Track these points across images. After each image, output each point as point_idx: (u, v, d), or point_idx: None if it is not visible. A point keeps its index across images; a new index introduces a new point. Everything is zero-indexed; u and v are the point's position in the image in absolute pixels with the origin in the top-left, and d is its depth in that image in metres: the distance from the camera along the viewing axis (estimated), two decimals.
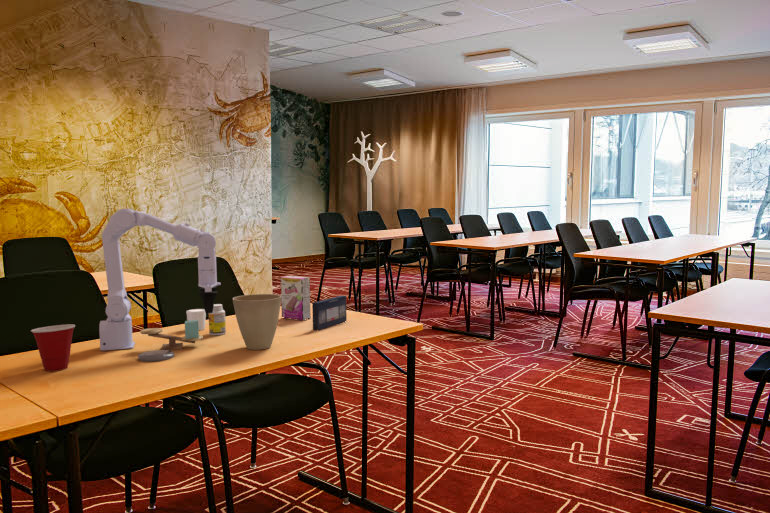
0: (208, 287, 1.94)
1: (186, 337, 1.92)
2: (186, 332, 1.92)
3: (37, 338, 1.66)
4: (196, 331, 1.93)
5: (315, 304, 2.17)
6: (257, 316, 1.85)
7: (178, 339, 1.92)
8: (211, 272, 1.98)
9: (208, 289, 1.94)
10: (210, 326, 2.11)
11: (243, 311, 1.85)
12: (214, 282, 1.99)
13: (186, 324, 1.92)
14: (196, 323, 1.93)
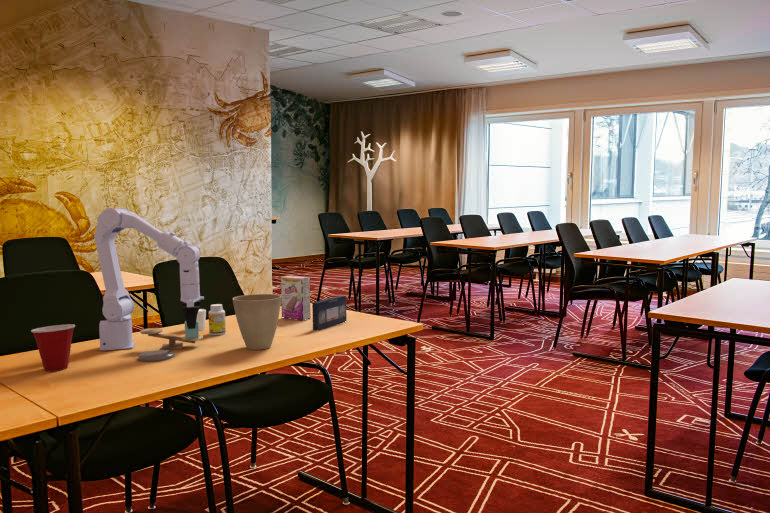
0: (190, 302, 1.87)
1: (186, 337, 1.92)
2: (186, 332, 1.92)
3: (37, 338, 1.66)
4: (196, 331, 1.93)
5: (315, 304, 2.17)
6: (257, 316, 1.85)
7: (178, 339, 1.92)
8: (193, 286, 1.91)
9: (190, 304, 1.87)
10: (210, 326, 2.11)
11: (243, 311, 1.85)
12: (197, 296, 1.92)
13: (186, 324, 1.92)
14: (196, 323, 1.93)
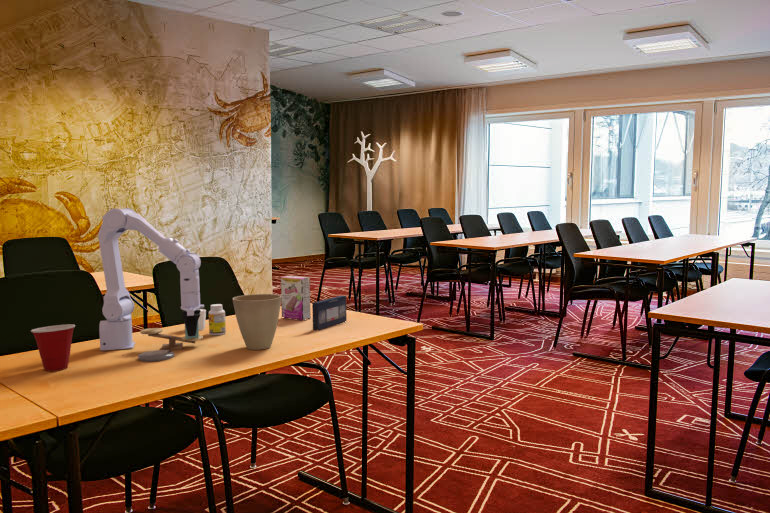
0: (190, 310, 1.87)
1: (186, 337, 1.92)
2: (186, 332, 1.92)
3: (37, 338, 1.66)
4: (196, 331, 1.93)
5: (315, 304, 2.17)
6: (257, 316, 1.85)
7: (178, 339, 1.92)
8: (194, 294, 1.91)
9: (190, 313, 1.87)
10: (210, 326, 2.11)
11: (243, 311, 1.85)
12: (197, 305, 1.92)
13: None
14: None
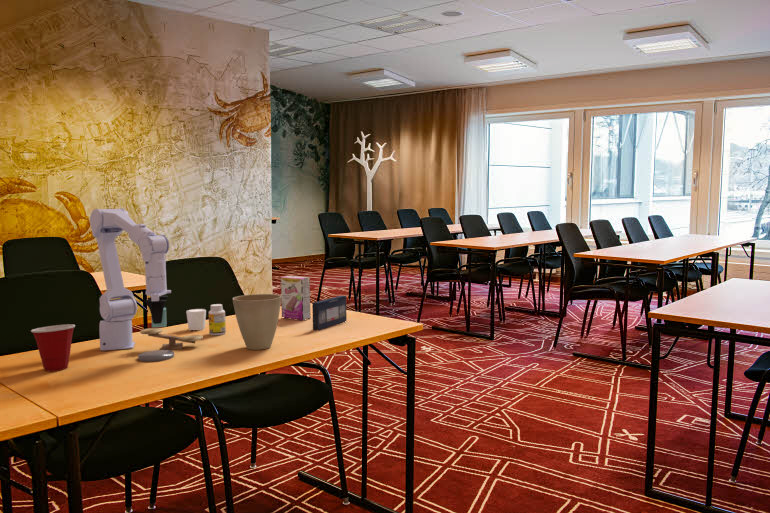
0: (155, 296, 1.74)
1: (153, 326, 1.79)
2: None
3: (37, 338, 1.66)
4: (164, 319, 1.80)
5: (315, 304, 2.17)
6: (257, 316, 1.85)
7: (178, 339, 1.92)
8: (159, 279, 1.78)
9: (155, 298, 1.74)
10: (210, 326, 2.11)
11: (243, 311, 1.85)
12: (163, 290, 1.80)
13: None
14: (164, 311, 1.80)
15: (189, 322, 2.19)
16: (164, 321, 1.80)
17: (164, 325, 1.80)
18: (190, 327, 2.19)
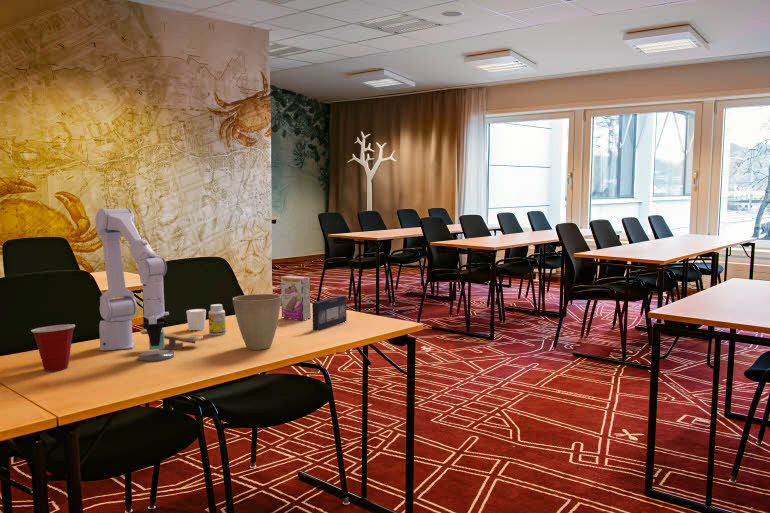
0: (152, 319, 1.73)
1: (150, 348, 1.79)
2: None
3: (37, 338, 1.66)
4: (161, 341, 1.80)
5: (315, 304, 2.17)
6: (257, 316, 1.85)
7: (178, 339, 1.92)
8: (157, 301, 1.78)
9: (152, 321, 1.74)
10: (210, 326, 2.11)
11: (243, 311, 1.85)
12: (161, 312, 1.79)
13: None
14: (161, 333, 1.80)
15: (189, 322, 2.19)
16: (162, 343, 1.80)
17: (162, 347, 1.80)
18: (190, 327, 2.19)
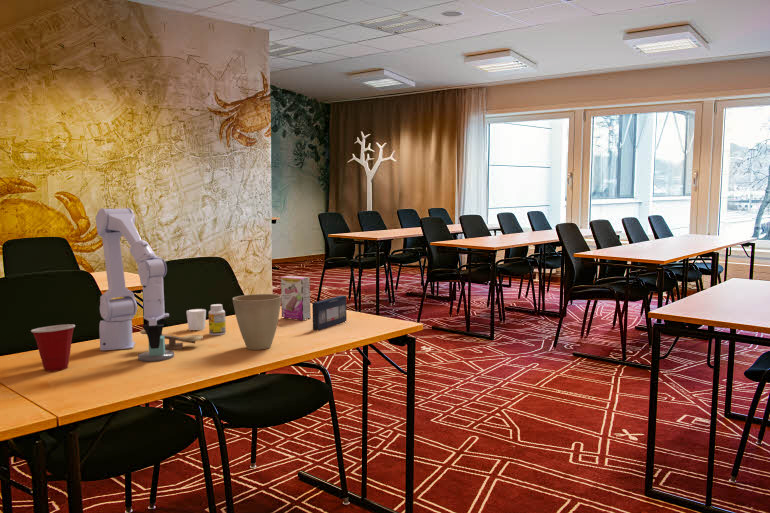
0: (152, 320, 1.74)
1: (150, 354, 1.79)
2: (150, 349, 1.79)
3: (37, 338, 1.66)
4: (161, 348, 1.80)
5: (315, 304, 2.17)
6: (257, 316, 1.85)
7: (178, 339, 1.92)
8: (157, 303, 1.78)
9: (152, 322, 1.74)
10: (210, 326, 2.11)
11: (243, 311, 1.85)
12: (161, 314, 1.79)
13: None
14: (161, 339, 1.80)
15: (189, 322, 2.19)
16: (161, 350, 1.80)
17: (161, 354, 1.80)
18: (190, 327, 2.19)
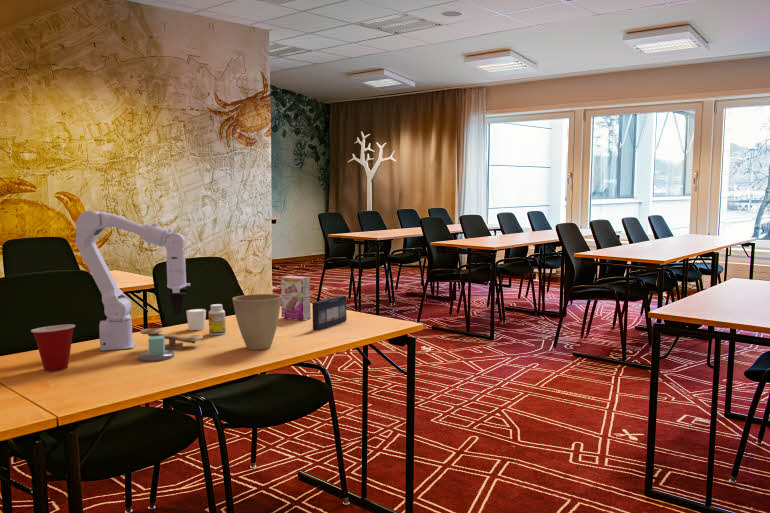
0: (176, 288, 1.90)
1: (150, 354, 1.79)
2: (150, 349, 1.79)
3: (37, 338, 1.66)
4: (161, 348, 1.80)
5: (315, 304, 2.17)
6: (257, 316, 1.85)
7: (178, 339, 1.92)
8: (180, 273, 1.94)
9: (176, 290, 1.90)
10: (210, 326, 2.11)
11: (243, 311, 1.85)
12: (183, 283, 1.95)
13: (150, 340, 1.79)
14: (161, 339, 1.80)
15: (189, 322, 2.19)
16: (161, 350, 1.80)
17: (161, 354, 1.80)
18: (190, 327, 2.19)
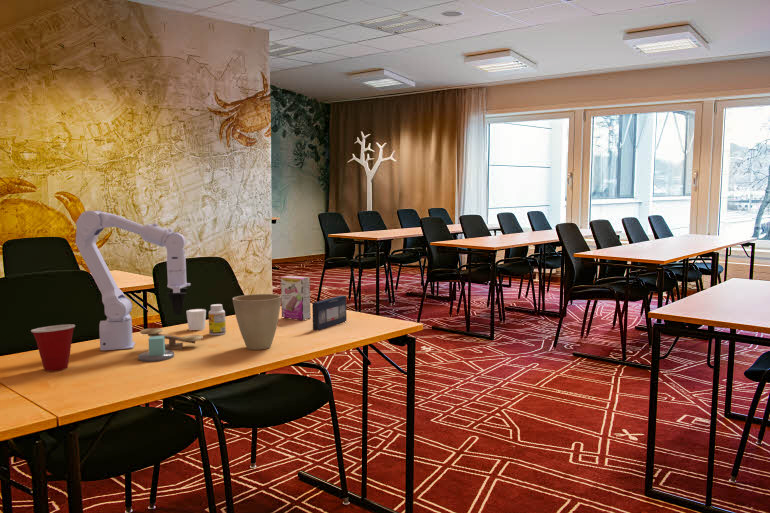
0: (176, 288, 1.90)
1: (150, 354, 1.79)
2: (150, 349, 1.79)
3: (37, 338, 1.66)
4: (161, 348, 1.80)
5: (315, 304, 2.17)
6: (257, 316, 1.85)
7: (178, 339, 1.92)
8: (180, 273, 1.94)
9: (176, 290, 1.90)
10: (210, 326, 2.11)
11: (243, 310, 1.85)
12: (183, 283, 1.95)
13: (150, 340, 1.79)
14: (161, 339, 1.80)
15: (189, 322, 2.19)
16: (161, 350, 1.80)
17: (161, 354, 1.80)
18: (190, 327, 2.19)
